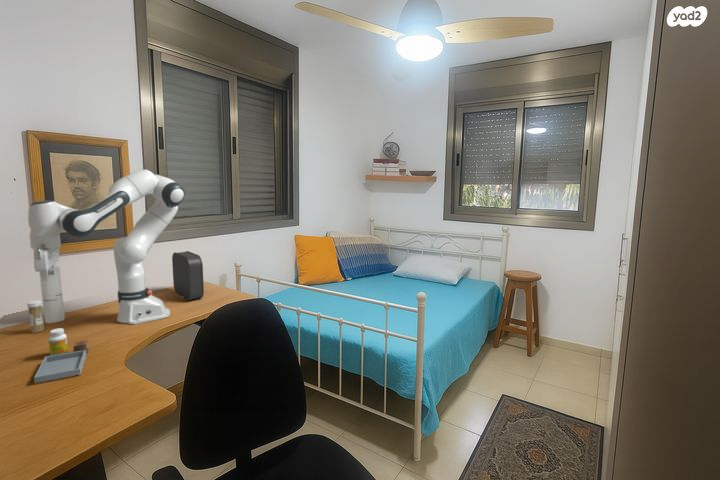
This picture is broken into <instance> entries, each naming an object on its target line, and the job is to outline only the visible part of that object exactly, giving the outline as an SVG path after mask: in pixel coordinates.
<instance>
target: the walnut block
mask: <svg viewBox="0 0 720 480" xmlns="http://www.w3.org/2000/svg"><path fill="white" fill-rule="evenodd" d="M72 346H73V347H72V348H73V352H77V351H83V350H86V355H88V353H89V342H88V340H80V341H74V343H73V345H72Z"/></svg>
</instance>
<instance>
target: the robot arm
mask: <svg viewBox="0 0 720 480" xmlns="http://www.w3.org/2000/svg"><path fill="white" fill-rule="evenodd" d="M185 194H186V191H185V189H184V187H183V185H181V184H180V183H178V182H176V181H175V180H173V179H172V178H169V177H165V176H163V175H161V174H158V173H153V172H152V171H150V170H149V169H141V170H137V171H134V172H132V173H129V174H127V175H125V176H123V177H121V178H119V179H118V180H116V181H114V182H113V183H112V184H111V185H110V187H109V189H108V195H107V196H106V197H105V198H104V199H102V200H100V201H99V202H97V203H95V204H94V205H92V206H91V207H88V208H87V209H86V208H85V209H81V210H80V209H75V208H72V207H68V206H66V205H64V204H60V203H59V202H56V201H55V200H51V199H48V200H39V201H34V202H31V204H30V205H29V207H28V214H27V215H28V216H27V217H28V219H27V220H28V226H29V229H30V233H29V243H30V249H32V250H35V251H34V253H33V265H34V271H35V273H36V272H38V273H39V272H40V273H39V276H40V275H41V277H42V281H48V280H49V276H48V275H54V274H55V273H54V269H55V267H56V263H57V262H59V260H60V248H61V245H62V241H61V233H62V232H63V233H67V234H69V235H71V236H73V237H77V238H80V237H81V238H82V237H86V236H89V235H90V234H92V233H93V232H94V231H95V230H96V228H97V226H99V225H100V223H101V222H103V221H104V220H106V219H107V218H109V217H111V216H113V214H114V213H116V212H118V211H120V210H121V209H123V208H125V207H126V206H129V205H131V204H133V203H135V202H137V201H139V200H141V199H142V198H144V197H145V196H147V195H151V196H152V197H153V198H155V200H154V203H153V204H152V205H151V206H150V207H149V208H148V209H147V211H145V213H144V214H143V215H142V216H141V217H140V218H139V220H137V221H136V223H135V225H134V226H133V228H132V229H131V231H130V233H129V234H128V235H127V236H122V237H120V238H118V239H117V240H115V242H114V244H113V256H114V257H113V258H114V263H115V268H116V275H117V276H116V277H117V287H118V291H117V301H118V314H117V317H116V321H117V322H118V323H122V324H130V325H137V324H142V323H147V322H153V321H157V320H161V319H165V318H166V317H167V318H168V317H170V315H171V310H170V308H168V307H166V306H165V303H164V301H163V300H162V299H160V298H159V297H157V296H154V295H152V294H153V292H152V290H151V288H150V287H146V274H145V273H146V272H145V269H144V264H143V261H144V260H145V259H146V257H147V254H148V253H149V251H150V249H151V248H152V247H153V245H154V244H155V242H156V240H157V239H158V237H159V236H160V235H161V233H162V232H163V231H164V230H165V229H166V227H168V225H170V223H171V222H172V221H173V219H174V217H175V216H176V214H177V212H178V210H179V205H180V204H181V202H183V200H184V199H185Z"/></svg>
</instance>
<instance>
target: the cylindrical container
mask: <svg viewBox="0 0 720 480" xmlns="http://www.w3.org/2000/svg"><path fill="white" fill-rule="evenodd" d="M38 273H39V279H40V280H39V281H40V289H41V290H40V291H41V298H42V308H43V314H44V322H45V323H46V324H56V323H59V322H62V321H64V320H65V319H66V318H65V317H66V315H65V308H64V298H63V289H62V279H61V277H62V276H61V270H60V267H59V266H55V269H54V273H55V274H54V275H48V276H49V280H48V281H42V277H41V275H40V272H38Z"/></svg>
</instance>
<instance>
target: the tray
mask: <svg viewBox="0 0 720 480" xmlns="http://www.w3.org/2000/svg"><path fill="white" fill-rule="evenodd" d="M87 355H88V354H86V350H83V351H77V352H74V351H72V352H68V353H65V354H59V355H53V356H50V355H48V356H45V357H44V358H43V360H42V361H41V363H40V365H39V368H38V369H37V372H36V373H35V375H34V377H33V380H34V384H35V383H39V384H41V383H40V382H44V381H50V380H55V379H60V378H64V377H69V376H74V375H79V374H81V375H82V372H83V369H84V366H83V364H84V365H85V362H84V361H86V359H87ZM82 368H83V369H82ZM81 371H82V372H81ZM60 380H61V379H60ZM55 381H56V380H55ZM50 382H51V381H50Z"/></svg>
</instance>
